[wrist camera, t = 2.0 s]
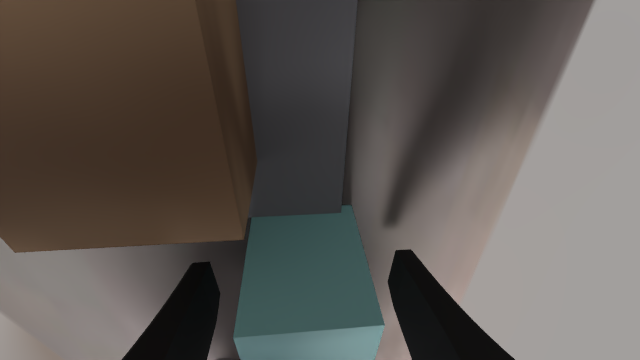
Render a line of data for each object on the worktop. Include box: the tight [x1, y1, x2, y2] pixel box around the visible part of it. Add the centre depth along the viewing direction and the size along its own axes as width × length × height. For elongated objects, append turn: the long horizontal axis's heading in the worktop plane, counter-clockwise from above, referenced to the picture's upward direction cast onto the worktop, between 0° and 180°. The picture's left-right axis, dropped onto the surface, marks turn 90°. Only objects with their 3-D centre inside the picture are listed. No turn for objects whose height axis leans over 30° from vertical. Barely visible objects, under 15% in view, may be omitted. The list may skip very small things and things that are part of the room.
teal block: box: [233, 205, 385, 360], centre depth 11 cm, size 4×4×5 cm
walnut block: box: [0, 0, 257, 253], centre depth 6 cm, size 5×5×4 cm
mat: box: [236, 0, 358, 217], centre depth 8 cm, size 10×10×1 cm
